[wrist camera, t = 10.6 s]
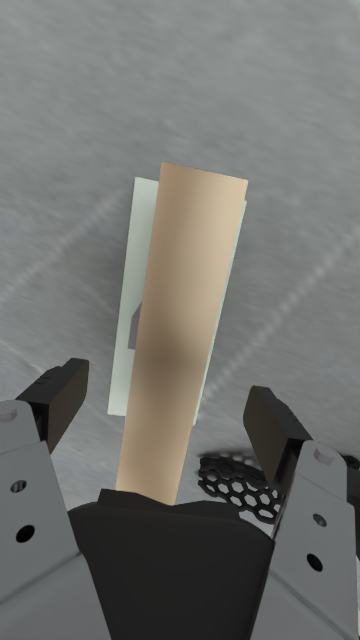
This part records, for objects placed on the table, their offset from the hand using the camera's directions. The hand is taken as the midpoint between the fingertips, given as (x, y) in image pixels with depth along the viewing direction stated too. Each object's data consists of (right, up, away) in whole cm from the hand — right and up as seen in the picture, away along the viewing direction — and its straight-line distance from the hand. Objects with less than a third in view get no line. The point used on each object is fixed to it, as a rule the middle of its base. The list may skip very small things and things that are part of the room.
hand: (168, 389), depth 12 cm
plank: (0, +2, +6) cm, 7 cm away
